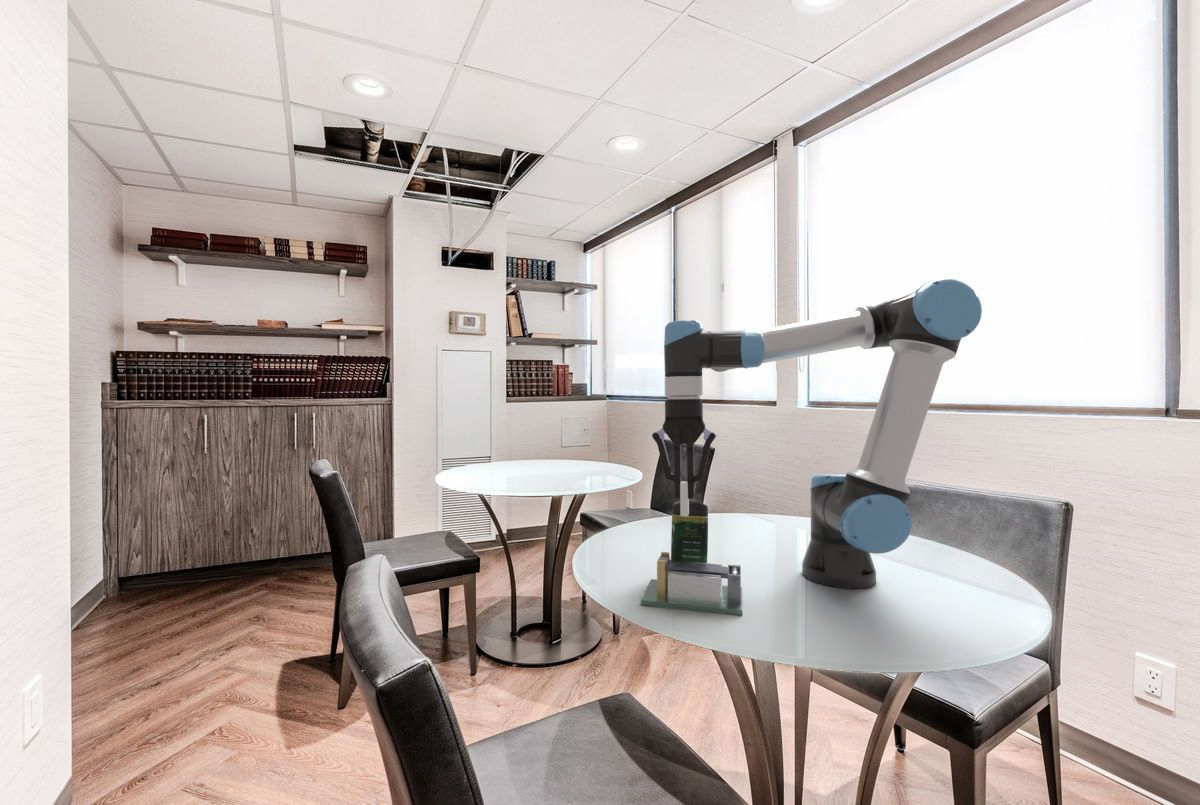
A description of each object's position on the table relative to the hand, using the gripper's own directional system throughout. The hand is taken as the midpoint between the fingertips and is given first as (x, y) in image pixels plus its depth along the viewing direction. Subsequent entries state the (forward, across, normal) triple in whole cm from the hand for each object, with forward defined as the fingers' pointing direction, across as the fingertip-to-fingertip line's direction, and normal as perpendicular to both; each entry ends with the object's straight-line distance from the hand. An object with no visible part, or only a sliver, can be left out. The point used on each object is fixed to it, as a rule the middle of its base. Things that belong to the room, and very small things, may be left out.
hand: (684, 514), depth 108 cm
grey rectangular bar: (+11, -2, +1) cm, 11 cm away
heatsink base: (+17, -2, +1) cm, 17 cm away
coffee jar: (+17, 0, -8) cm, 19 cm away
